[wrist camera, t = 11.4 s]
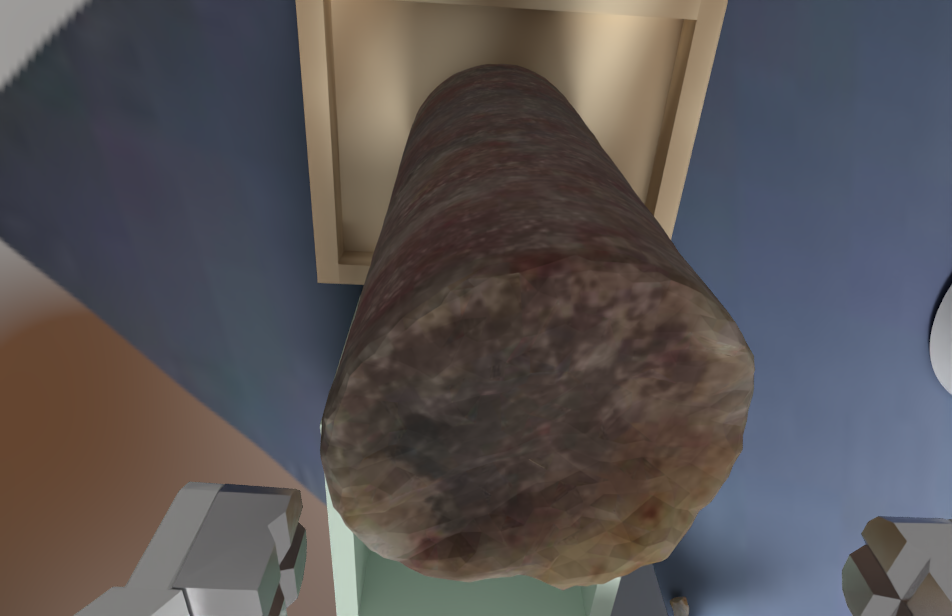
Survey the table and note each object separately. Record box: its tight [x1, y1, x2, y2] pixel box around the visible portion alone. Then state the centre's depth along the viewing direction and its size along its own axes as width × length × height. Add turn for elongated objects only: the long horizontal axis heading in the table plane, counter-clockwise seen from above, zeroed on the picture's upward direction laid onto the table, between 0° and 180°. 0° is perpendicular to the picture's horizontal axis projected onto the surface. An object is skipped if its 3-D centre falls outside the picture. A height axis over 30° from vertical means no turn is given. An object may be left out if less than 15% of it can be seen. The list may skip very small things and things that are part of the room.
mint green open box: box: [320, 297, 621, 616], centre depth 31 cm, size 13×13×10 cm
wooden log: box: [320, 64, 755, 591], centre depth 18 cm, size 8×7×20 cm
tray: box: [296, 0, 728, 285], centre depth 27 cm, size 16×13×2 cm
